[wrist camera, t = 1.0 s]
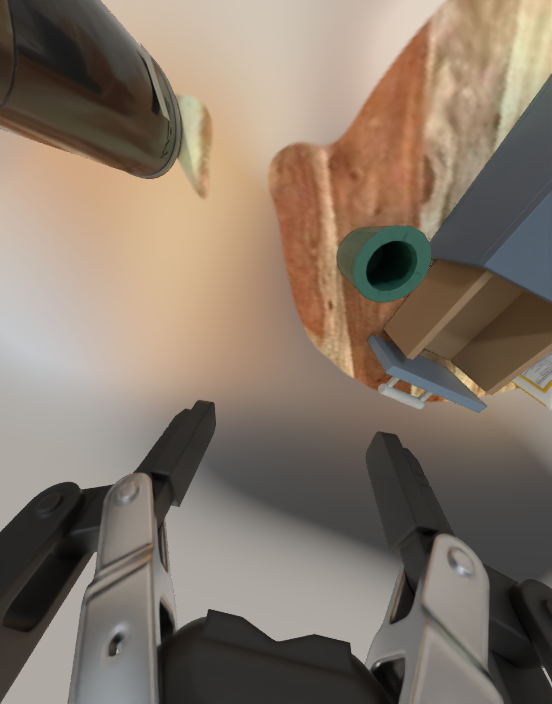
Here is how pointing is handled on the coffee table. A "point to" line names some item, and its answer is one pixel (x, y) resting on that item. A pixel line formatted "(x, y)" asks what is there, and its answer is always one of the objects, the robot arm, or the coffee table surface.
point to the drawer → (463, 335)
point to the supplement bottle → (538, 381)
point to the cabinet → (509, 207)
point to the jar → (384, 261)
